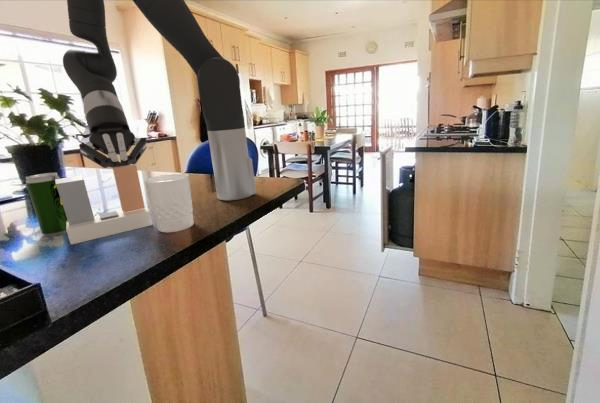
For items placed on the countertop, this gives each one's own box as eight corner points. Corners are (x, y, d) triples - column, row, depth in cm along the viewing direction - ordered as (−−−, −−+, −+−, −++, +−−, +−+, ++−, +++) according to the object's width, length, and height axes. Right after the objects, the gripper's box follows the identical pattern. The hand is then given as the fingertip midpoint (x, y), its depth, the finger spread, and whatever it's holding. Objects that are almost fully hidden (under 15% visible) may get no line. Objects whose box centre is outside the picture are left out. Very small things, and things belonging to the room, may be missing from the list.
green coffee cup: (41, 239, 61) (21, 179, 58) (44, 232, 66) (26, 175, 62) (74, 232, 64) (57, 174, 61) (75, 225, 68) (59, 171, 65)
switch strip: (147, 218, 69) (144, 203, 68) (152, 224, 65) (149, 209, 64) (70, 236, 62) (66, 220, 61) (70, 244, 57) (65, 227, 56)
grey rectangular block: (93, 215, 61) (82, 175, 56) (94, 219, 60) (83, 179, 55) (68, 220, 59) (55, 179, 54) (69, 225, 58) (55, 183, 53)
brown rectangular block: (143, 205, 66) (134, 164, 63) (144, 208, 65) (136, 165, 62) (122, 210, 64) (112, 167, 61) (123, 212, 63) (113, 169, 60)
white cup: (145, 232, 61) (134, 182, 58) (174, 219, 68) (165, 173, 65) (178, 235, 58) (168, 182, 55) (205, 220, 65) (197, 173, 62)
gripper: (66, 105, 63) (83, 173, 57) (138, 102, 70) (160, 163, 64) (73, 131, 69) (89, 196, 63) (139, 126, 76) (159, 184, 70)
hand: (125, 179), depth 63 cm, fingers closed
